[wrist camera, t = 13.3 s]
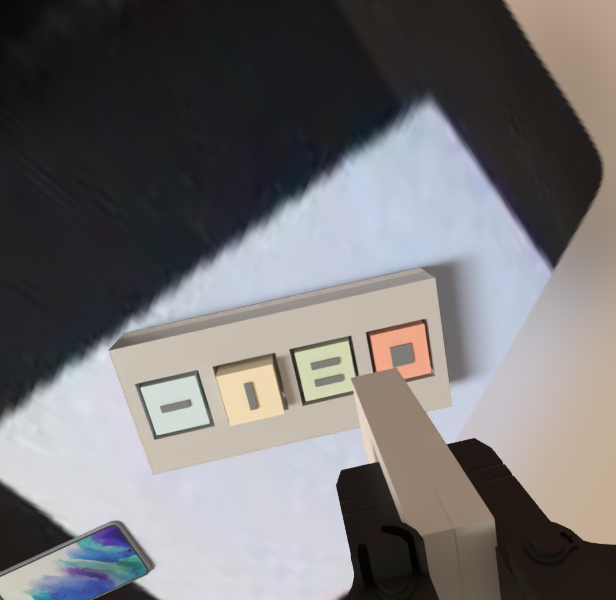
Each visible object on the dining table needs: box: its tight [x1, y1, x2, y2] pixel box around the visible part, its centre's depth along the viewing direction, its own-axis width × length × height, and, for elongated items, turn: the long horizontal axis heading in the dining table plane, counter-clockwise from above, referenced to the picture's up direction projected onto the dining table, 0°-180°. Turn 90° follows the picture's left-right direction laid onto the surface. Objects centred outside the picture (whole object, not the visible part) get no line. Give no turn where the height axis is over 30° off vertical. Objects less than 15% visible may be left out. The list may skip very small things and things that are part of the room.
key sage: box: [294, 337, 355, 401], centre depth 40 cm, size 5×5×3 cm
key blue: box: [140, 370, 212, 435], centre depth 39 cm, size 5×5×3 cm
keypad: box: [109, 268, 452, 475], centre depth 41 cm, size 27×12×4 cm, turn 102°
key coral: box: [366, 320, 431, 379], centre depth 40 cm, size 5×5×3 cm
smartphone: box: [0, 521, 151, 600], centre depth 47 cm, size 7×1×15 cm
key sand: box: [216, 353, 285, 426], centre depth 38 cm, size 5×5×3 cm
